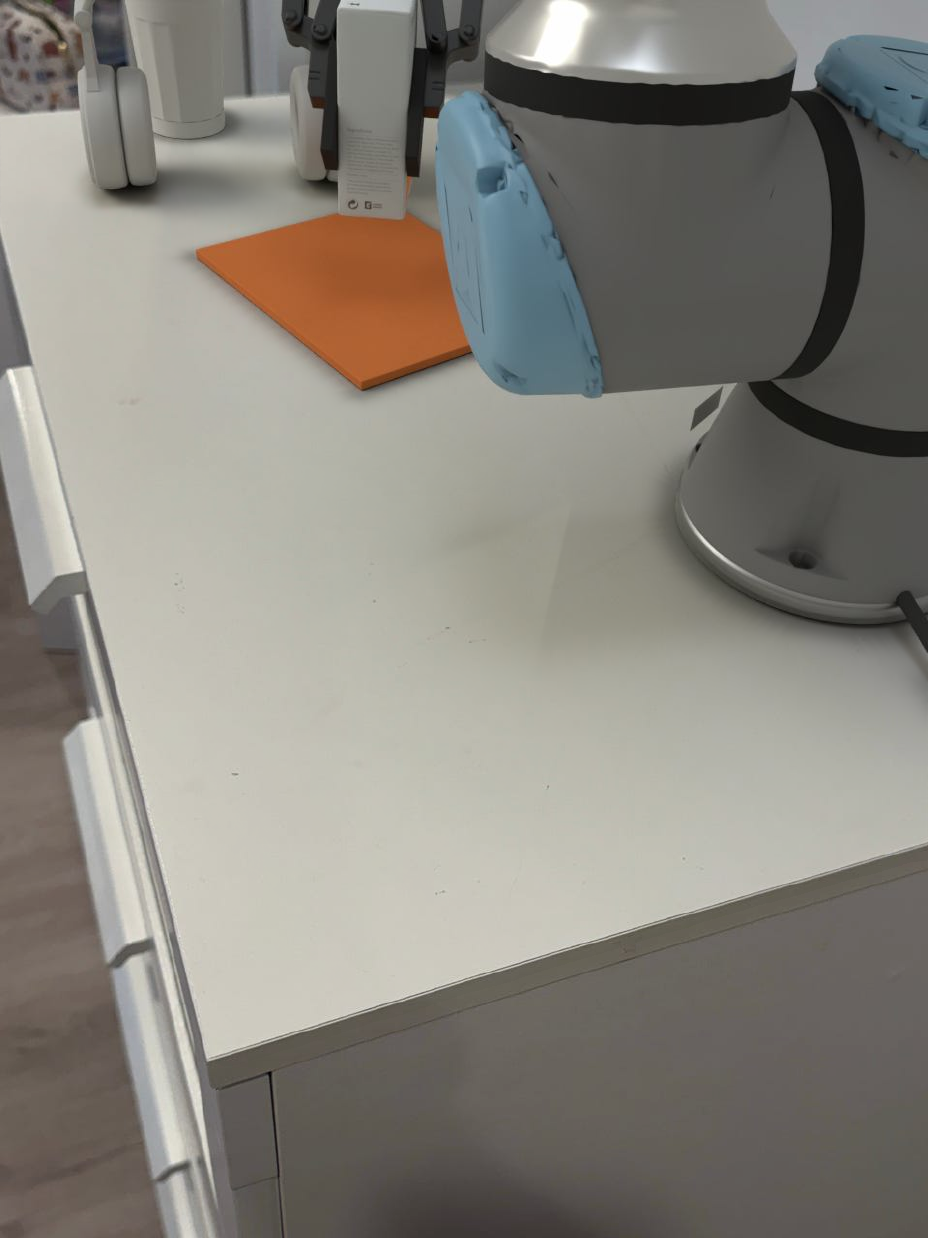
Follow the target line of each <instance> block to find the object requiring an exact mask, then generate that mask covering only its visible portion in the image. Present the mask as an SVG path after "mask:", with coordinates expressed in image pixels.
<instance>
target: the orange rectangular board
mask: <svg viewBox="0 0 928 1238" xmlns="http://www.w3.org/2000/svg"><path fill="white" fill-rule="evenodd" d="M195 254H196V258H197V259H198V260H200V262H202V263H203V264H205V265H206V266H207V267H208V268H209V269H210V270H212V271H213V272H215V273H216V274H217V275H218V276H219V277H220V278H222V279H223V280H224V281H225V282H226V283H228V284H229V285H230V286H231V287H233V288H234V289H236V290H237V291H238V292H239V293H240V294H242V295H243V296H244V297H245V298H246V299H248V300H249V301H250V302H252V303H253V304H254V305H255V306H257V308H259V309H260V310H262V311H263V313H265V314H266V315H268V316H269V317H270V318H271V319H272V320H273V321H275V322H276V323H278V325H280V326H281V327H283V329H285V330H286V331H288V333H290V334H291V335H293V336H294V337H295V338H296V339H297V340H299V341H300V342H302V343H303V345H305V346H306V347H307V348H308V349H310V350H311V351H313V352H314V353H315V354H316V355H317V356H319V357H320V358H321V359H323V361H325V362H326V363H327V364H329V365H330V366H331V367H332V368H333V369H335V370H336V371H337V372H339V374H341V375H342V376H344V378H346V379H347V380H348V381H350V382H351V383H352V384H353V385H354V386H356V387H357V388H358V389H360V390H361V391H364V390H366V389H370V388H372V387H375V386H377V385H378V386H379V385H381V384H383V383H386V382H389V381H392V380H395V379H398V378H400V377H403V376H406V375H409V374H412V373H415V372H418V371H421V370H424V369H426V368H429V367H433V366H435V365H438V364H440V363H443V362H446V361H449V360H452V359H455V358H458V357H460V356H463V355H466V354H470V353H473V352H472V350H471V347H470V345H469V343H468V340H467V338H466V335H465V332H464V329H463V326H462V323H461V320H460V317H459V313H458V310H457V306H456V302H455V298H454V294H453V290H452V286H451V281H450V277H449V272H448V267H447V262H446V257H445V251H444V245H443V239H442V233H440V232H439V231H437V230H435V229H433V228H432V227H431V226H429V225H427V224H426V223H424V222H423V221H421V220H419V219H418V218H416V217H415V216H413V215H412V214H410V213H409V212H407V211H405V218H404V219H403V220H394V219H382V218H369V217H354V216H343V215H340V214H339V212H335V213H333V214H327V215H324V216H321V217H320V216H319V217H317V218H313V219H309V220H304V221H301V222H297V223H293V224H288V225H285V226H282V227H278V228H274V229H270V230H266V231H263V232H258V233H254V234H252V235H247V236H243V237H238V238H234V239H232V240H227V241H223V242H220V243H216V244H211V245H209V246H204V247H200V248H196V249H195Z"/></svg>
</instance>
